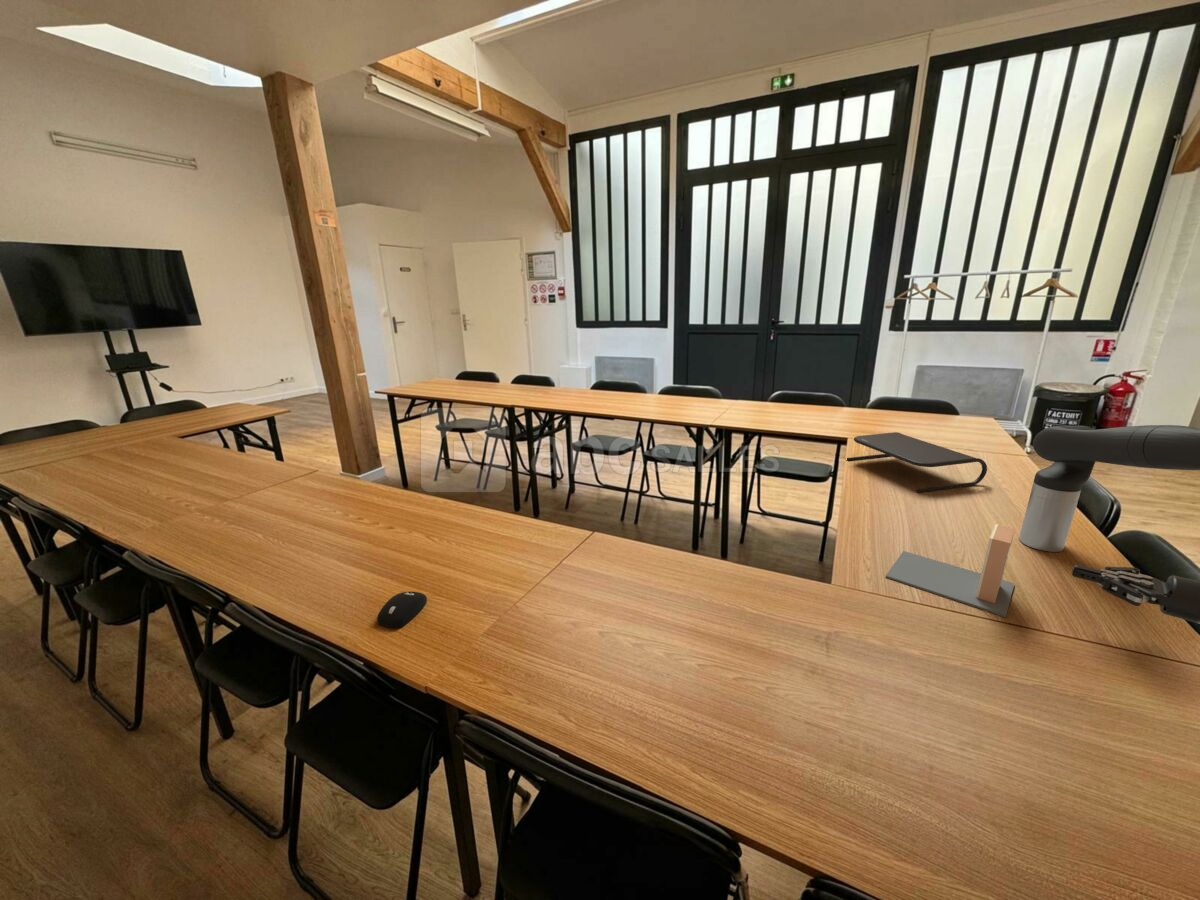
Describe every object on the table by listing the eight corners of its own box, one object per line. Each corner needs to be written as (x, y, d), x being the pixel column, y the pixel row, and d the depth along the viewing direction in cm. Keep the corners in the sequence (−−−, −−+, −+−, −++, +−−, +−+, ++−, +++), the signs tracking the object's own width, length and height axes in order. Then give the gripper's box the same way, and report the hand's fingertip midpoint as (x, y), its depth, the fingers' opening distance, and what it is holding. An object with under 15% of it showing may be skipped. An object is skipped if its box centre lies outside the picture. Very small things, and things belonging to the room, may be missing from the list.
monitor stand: (844, 461, 199) (848, 436, 196) (902, 454, 204) (906, 430, 201) (918, 494, 165) (923, 464, 161) (984, 485, 170) (991, 457, 167)
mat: (903, 552, 128) (903, 550, 128) (1014, 585, 112) (1014, 583, 112) (885, 577, 117) (885, 575, 117) (1005, 617, 102) (1006, 615, 101)
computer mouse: (435, 600, 115) (432, 585, 113) (400, 632, 104) (397, 616, 103) (409, 595, 117) (407, 581, 116) (373, 625, 106) (370, 610, 105)
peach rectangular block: (981, 580, 114) (995, 523, 109) (1000, 586, 111) (1015, 528, 107) (975, 597, 108) (989, 538, 103) (994, 603, 105) (1010, 543, 101)
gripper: (1206, 571, 90) (1078, 541, 101) (1218, 602, 81) (1076, 566, 93) (1192, 605, 92) (1069, 572, 104) (1203, 639, 83) (1066, 599, 95)
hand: (1073, 569), depth 98 cm, fingers closed
